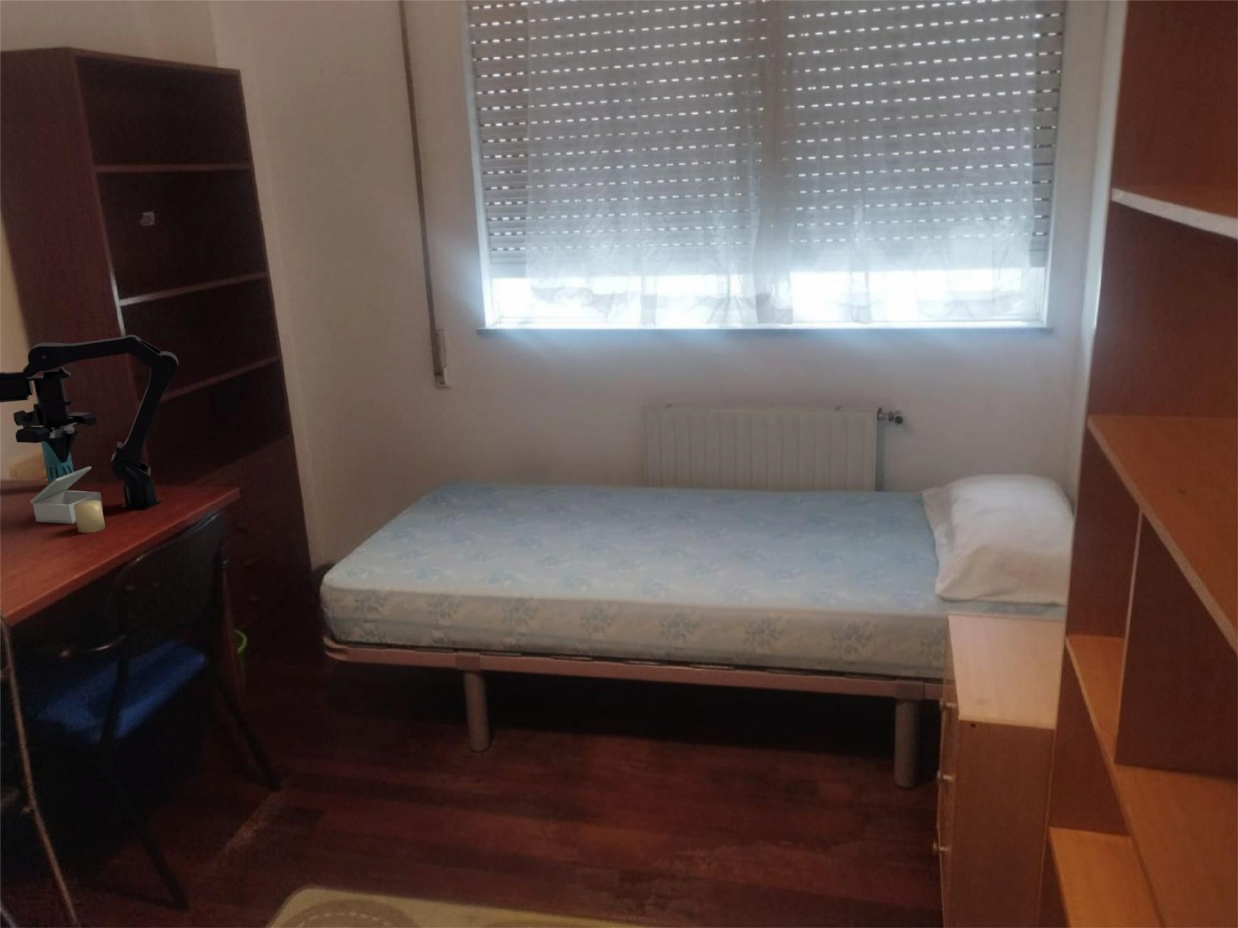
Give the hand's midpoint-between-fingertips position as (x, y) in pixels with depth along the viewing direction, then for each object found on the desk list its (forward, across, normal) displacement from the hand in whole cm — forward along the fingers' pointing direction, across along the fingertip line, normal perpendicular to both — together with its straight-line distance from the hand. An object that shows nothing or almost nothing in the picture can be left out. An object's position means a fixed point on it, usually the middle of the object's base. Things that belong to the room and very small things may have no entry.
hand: (63, 462), depth 227 cm
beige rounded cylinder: (+13, +8, +12) cm, 19 cm away
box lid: (+5, +1, -1) cm, 6 cm away
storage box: (+13, +1, 0) cm, 13 cm away
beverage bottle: (+13, -19, -20) cm, 31 cm away
